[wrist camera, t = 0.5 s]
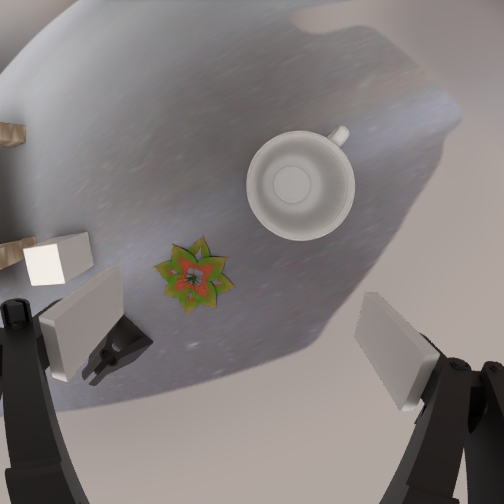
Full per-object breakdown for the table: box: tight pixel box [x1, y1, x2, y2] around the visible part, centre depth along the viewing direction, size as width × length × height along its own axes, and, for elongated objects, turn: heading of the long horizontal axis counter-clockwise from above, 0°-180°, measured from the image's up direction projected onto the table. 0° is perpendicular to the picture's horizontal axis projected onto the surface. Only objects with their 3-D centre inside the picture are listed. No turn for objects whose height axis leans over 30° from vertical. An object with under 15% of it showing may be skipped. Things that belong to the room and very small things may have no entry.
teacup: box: [246, 125, 355, 241], centre depth 36 cm, size 12×15×10 cm
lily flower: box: [154, 236, 236, 314], centre depth 42 cm, size 12×12×5 cm
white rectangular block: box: [23, 232, 94, 286], centre depth 38 cm, size 6×7×9 cm
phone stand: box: [82, 314, 153, 386], centre depth 40 cm, size 9×6×12 cm, turn 44°
